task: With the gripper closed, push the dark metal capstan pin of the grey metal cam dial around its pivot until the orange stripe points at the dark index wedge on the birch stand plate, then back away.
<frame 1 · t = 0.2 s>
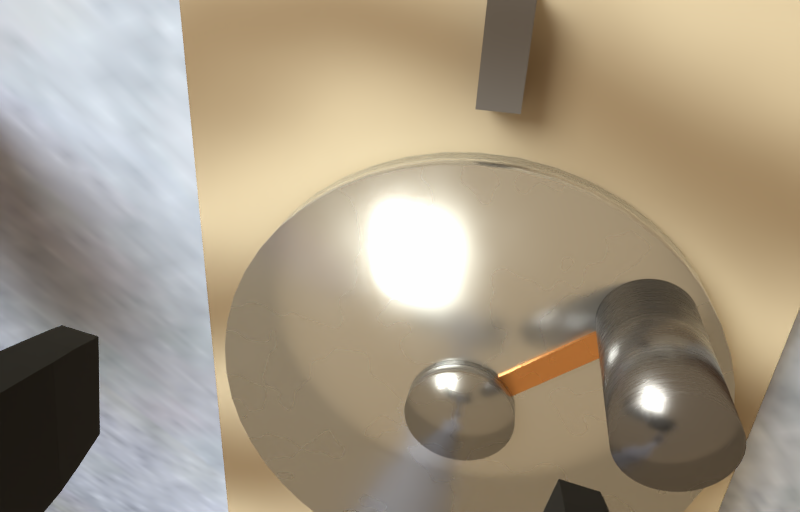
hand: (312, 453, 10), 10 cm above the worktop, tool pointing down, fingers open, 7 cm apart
stand plate: (470, 348, 21), on the worktop
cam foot: (453, 445, 17), point 4 cm above the worktop, hinge at -50.0°
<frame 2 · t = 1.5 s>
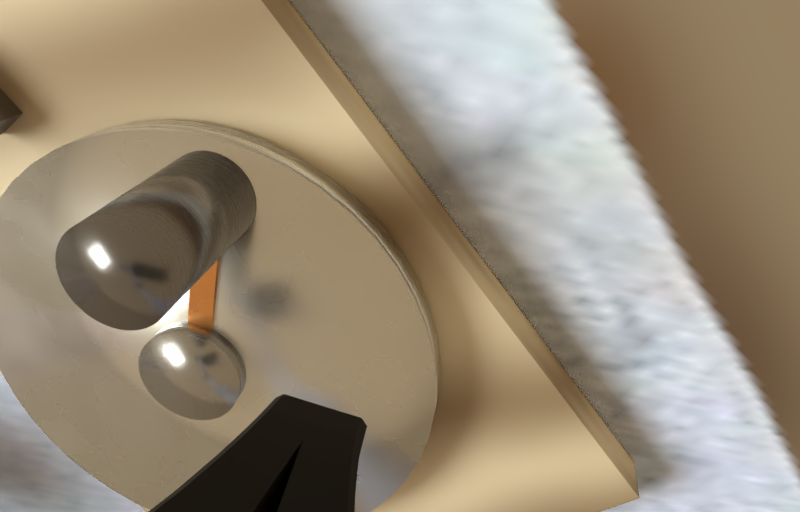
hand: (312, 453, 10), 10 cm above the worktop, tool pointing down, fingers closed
stand plate: (235, 316, 22), on the worktop
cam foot: (169, 402, 18), point 4 cm above the worktop, hinge at -50.0°
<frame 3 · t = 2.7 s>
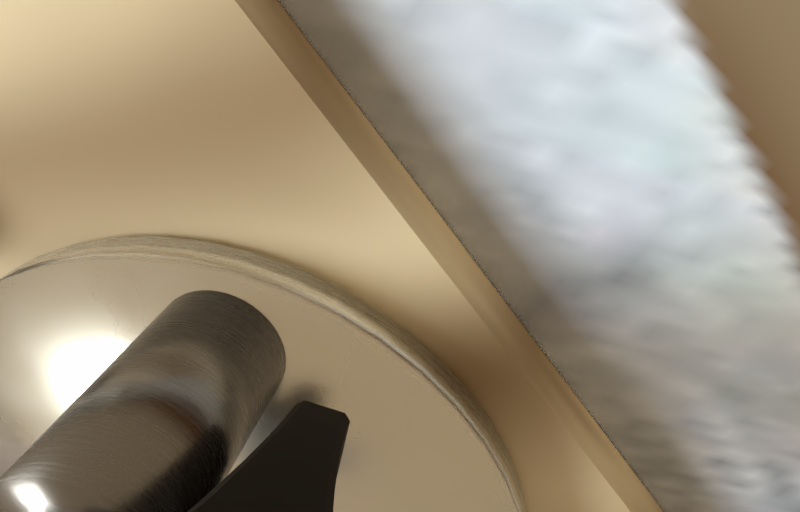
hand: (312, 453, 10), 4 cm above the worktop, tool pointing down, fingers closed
stand plate: (251, 458, 17), on the worktop
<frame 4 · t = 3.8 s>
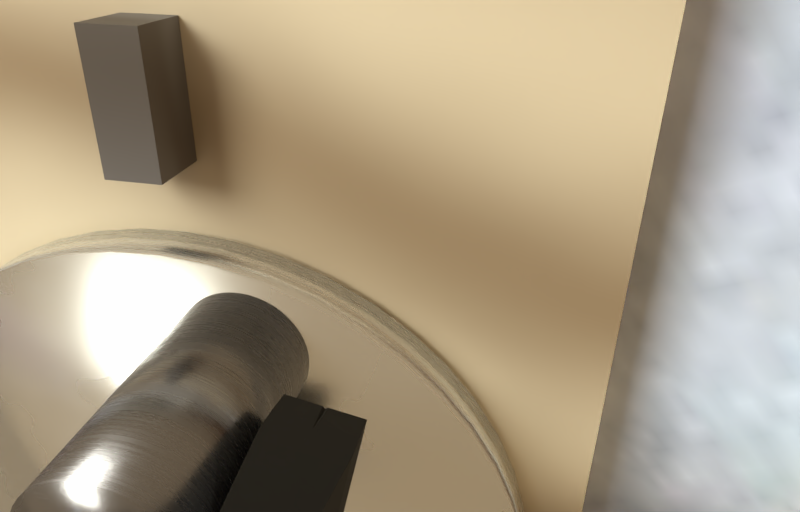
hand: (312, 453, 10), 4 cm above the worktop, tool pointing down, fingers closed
stand plate: (246, 453, 17), on the worktop
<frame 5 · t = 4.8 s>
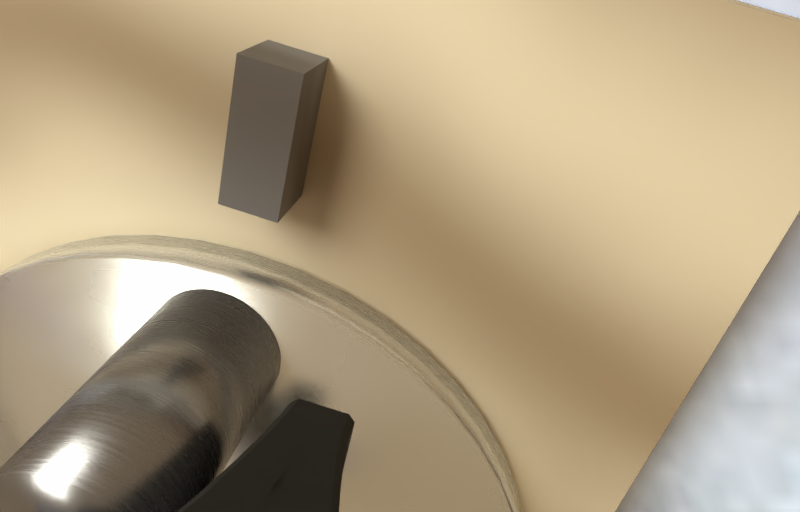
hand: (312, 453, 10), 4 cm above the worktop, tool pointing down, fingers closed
stand plate: (246, 457, 17), on the worktop
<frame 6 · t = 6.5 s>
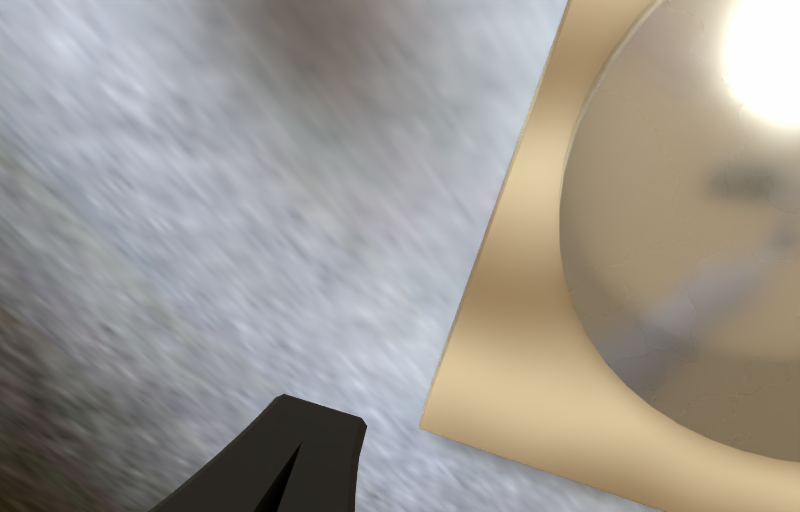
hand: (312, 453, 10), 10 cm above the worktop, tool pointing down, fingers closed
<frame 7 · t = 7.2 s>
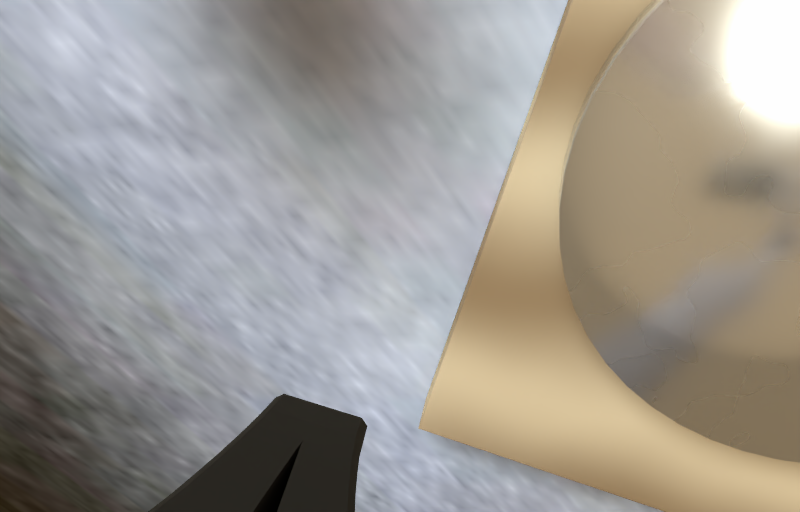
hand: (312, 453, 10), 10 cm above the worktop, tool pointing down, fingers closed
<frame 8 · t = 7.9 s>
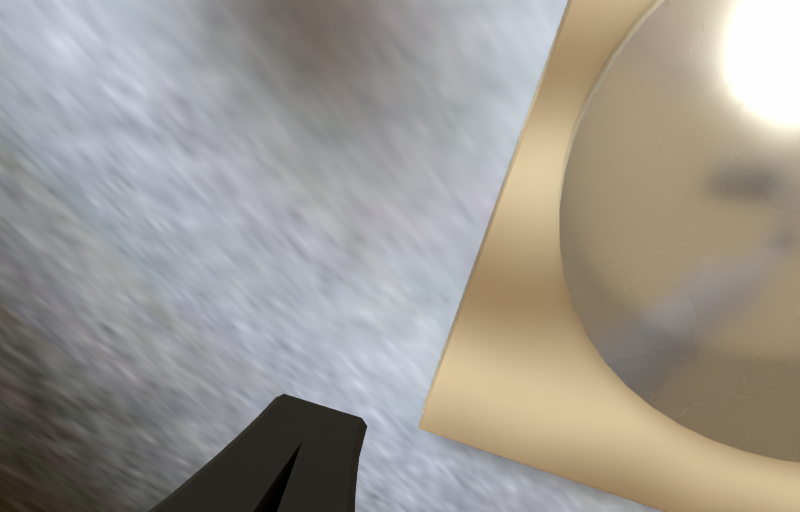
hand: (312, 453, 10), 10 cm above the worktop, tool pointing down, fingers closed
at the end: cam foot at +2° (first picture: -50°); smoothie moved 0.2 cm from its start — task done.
